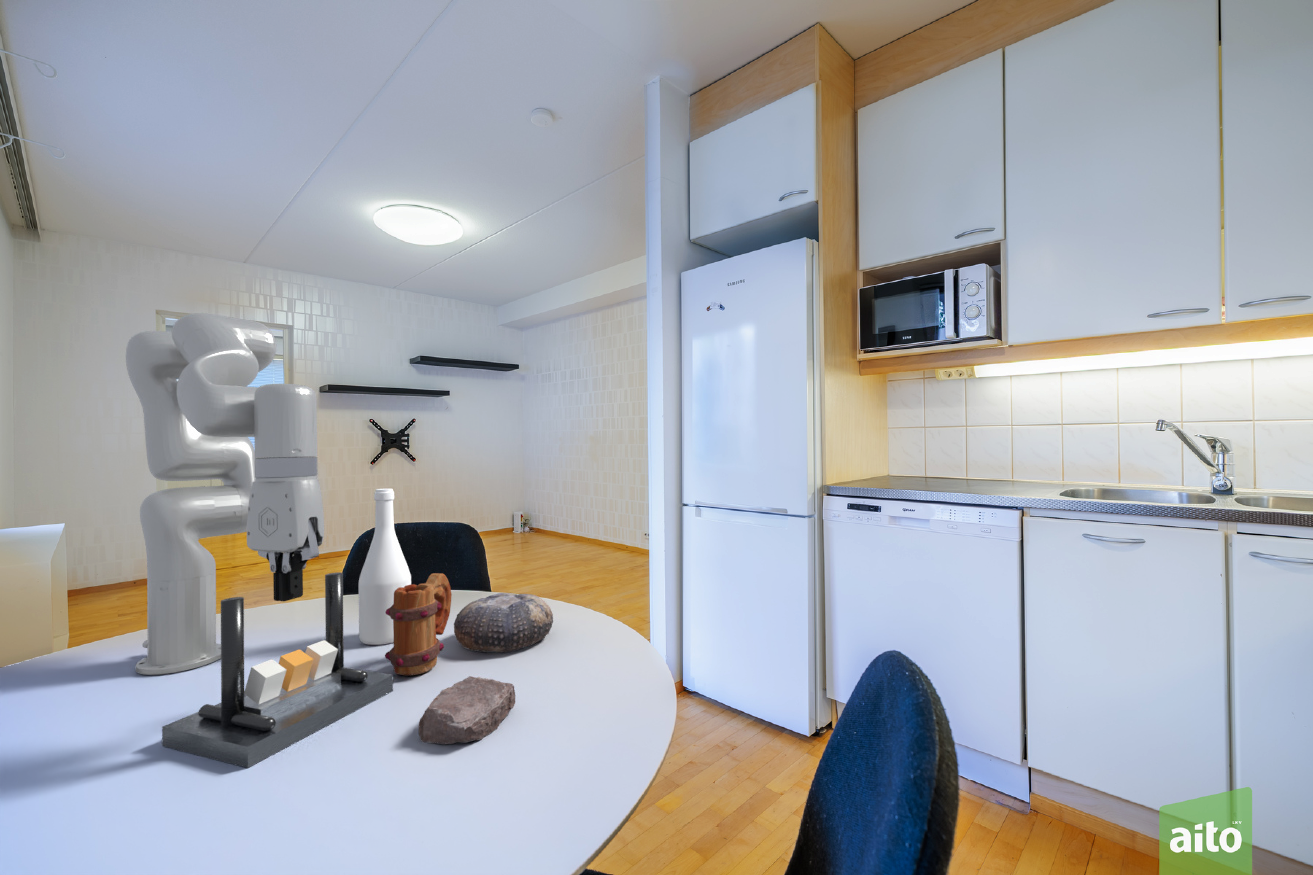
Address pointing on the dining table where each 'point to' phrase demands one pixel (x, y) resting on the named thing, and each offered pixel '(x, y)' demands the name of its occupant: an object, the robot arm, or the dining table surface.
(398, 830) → the dining table surface
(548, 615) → the sea urchin shell
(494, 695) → the stone
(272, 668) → the white tilted cube
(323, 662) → the white leaning block
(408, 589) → the mug
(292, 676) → the block
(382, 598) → the wine bottle
